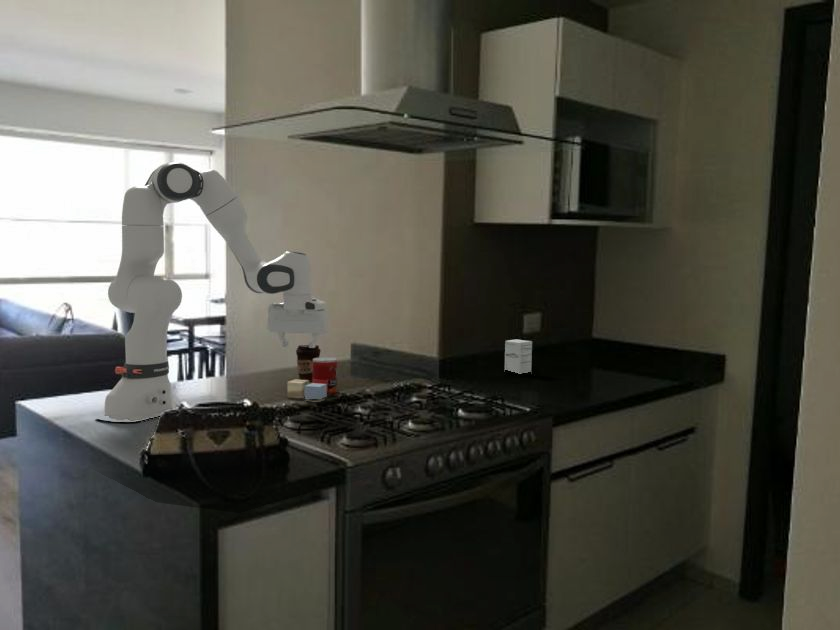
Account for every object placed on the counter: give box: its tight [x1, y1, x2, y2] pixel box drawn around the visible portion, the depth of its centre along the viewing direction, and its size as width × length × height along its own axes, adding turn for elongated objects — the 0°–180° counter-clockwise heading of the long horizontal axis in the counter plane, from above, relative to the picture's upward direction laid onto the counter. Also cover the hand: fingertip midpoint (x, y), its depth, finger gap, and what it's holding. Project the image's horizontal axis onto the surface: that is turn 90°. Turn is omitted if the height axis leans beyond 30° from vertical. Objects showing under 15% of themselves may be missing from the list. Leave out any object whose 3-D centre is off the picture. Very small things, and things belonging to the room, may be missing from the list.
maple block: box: [286, 378, 310, 399], centre depth 237 cm, size 5×5×5 cm
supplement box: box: [504, 338, 533, 374], centre depth 280 cm, size 7×7×13 cm
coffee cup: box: [295, 344, 321, 384], centre depth 261 cm, size 9×8×13 cm
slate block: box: [304, 383, 328, 400], centre depth 231 cm, size 5×5×5 cm
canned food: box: [313, 356, 338, 395], centre depth 244 cm, size 8×8×11 cm
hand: (298, 347), depth 236 cm, fingers open, 8 cm apart
